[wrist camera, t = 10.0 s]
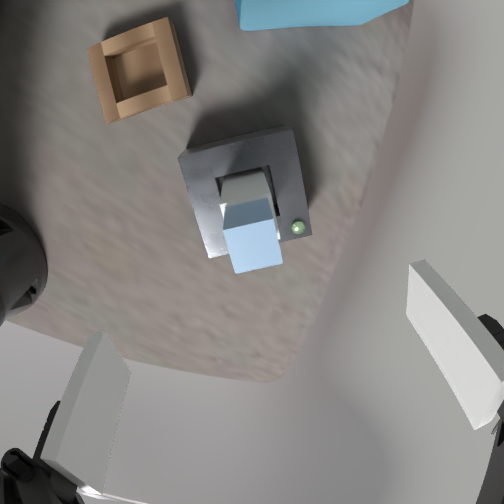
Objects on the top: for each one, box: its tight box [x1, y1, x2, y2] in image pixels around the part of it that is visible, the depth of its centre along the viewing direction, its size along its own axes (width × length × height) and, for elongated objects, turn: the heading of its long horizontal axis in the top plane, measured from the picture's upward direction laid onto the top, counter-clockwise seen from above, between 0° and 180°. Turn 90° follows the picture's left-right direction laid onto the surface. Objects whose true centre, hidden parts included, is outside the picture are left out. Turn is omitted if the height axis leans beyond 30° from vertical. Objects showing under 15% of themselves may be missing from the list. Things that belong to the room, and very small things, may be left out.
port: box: [178, 126, 312, 258], centre depth 30 cm, size 10×10×5 cm
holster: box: [87, 17, 192, 124], centre depth 25 cm, size 8×8×3 cm
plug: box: [220, 167, 283, 274], centre depth 25 cm, size 4×4×13 cm
